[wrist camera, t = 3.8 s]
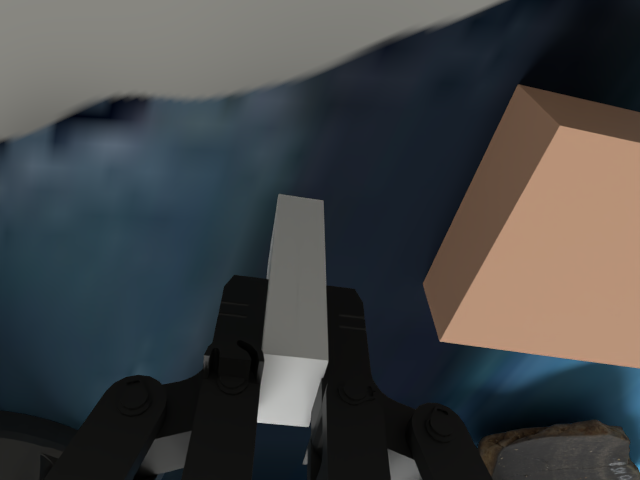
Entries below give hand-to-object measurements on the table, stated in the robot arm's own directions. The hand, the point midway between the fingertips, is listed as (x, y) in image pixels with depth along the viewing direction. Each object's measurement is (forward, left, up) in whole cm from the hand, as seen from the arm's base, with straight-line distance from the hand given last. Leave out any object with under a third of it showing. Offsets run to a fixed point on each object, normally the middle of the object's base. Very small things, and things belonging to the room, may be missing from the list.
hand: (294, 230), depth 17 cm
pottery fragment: (+21, -18, -5) cm, 28 cm away
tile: (+14, 0, -4) cm, 15 cm away
